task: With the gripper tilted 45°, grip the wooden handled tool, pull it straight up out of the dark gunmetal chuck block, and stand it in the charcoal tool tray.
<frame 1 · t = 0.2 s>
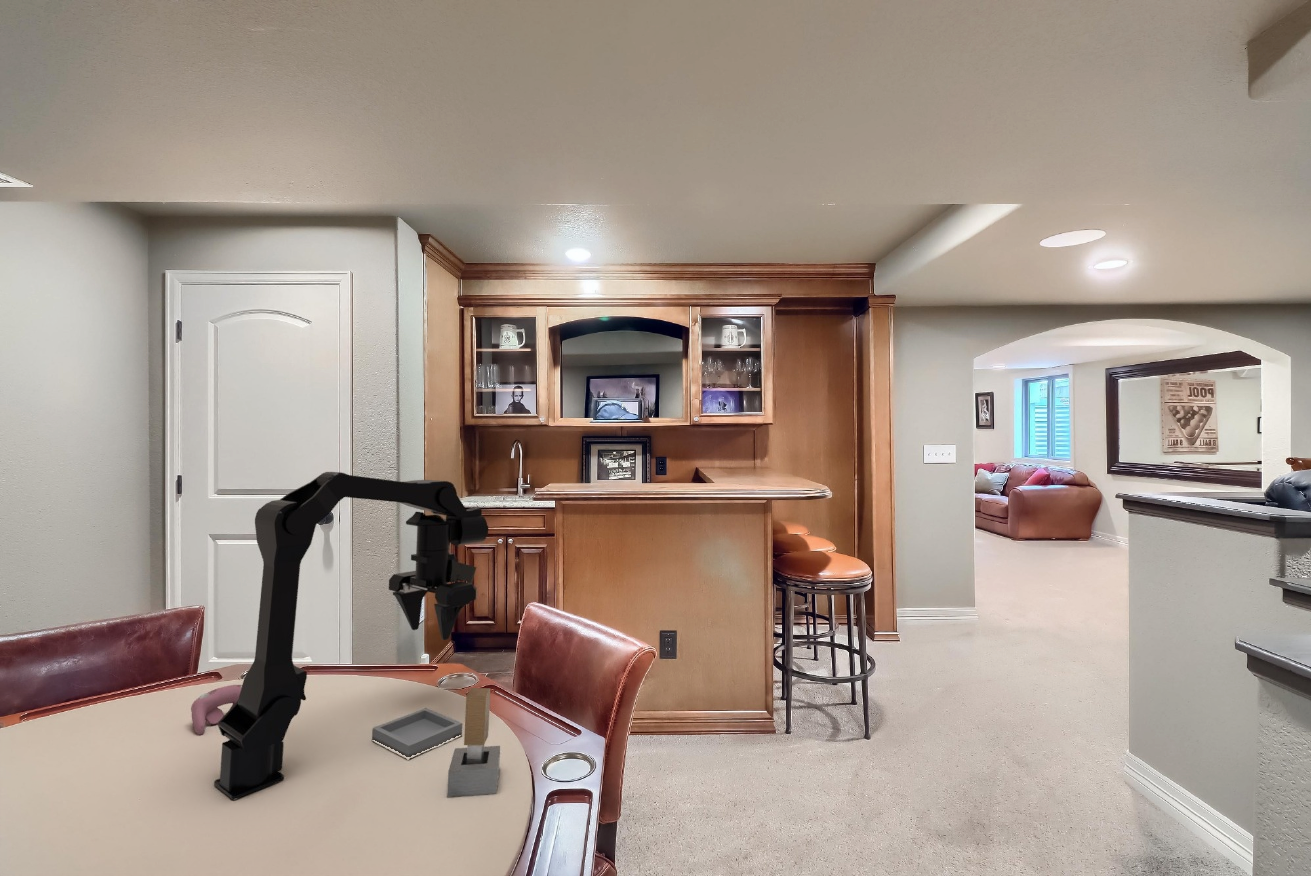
hand: (430, 634, 107), 15 cm above the table, tool pointing down, fingers open, 9 cm apart
wooden handled tool: (476, 737, 85), in the chuck block
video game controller: (226, 723, 101), on the table
chuck block: (474, 782, 85), on the table
tool tray: (417, 738, 97), on the table
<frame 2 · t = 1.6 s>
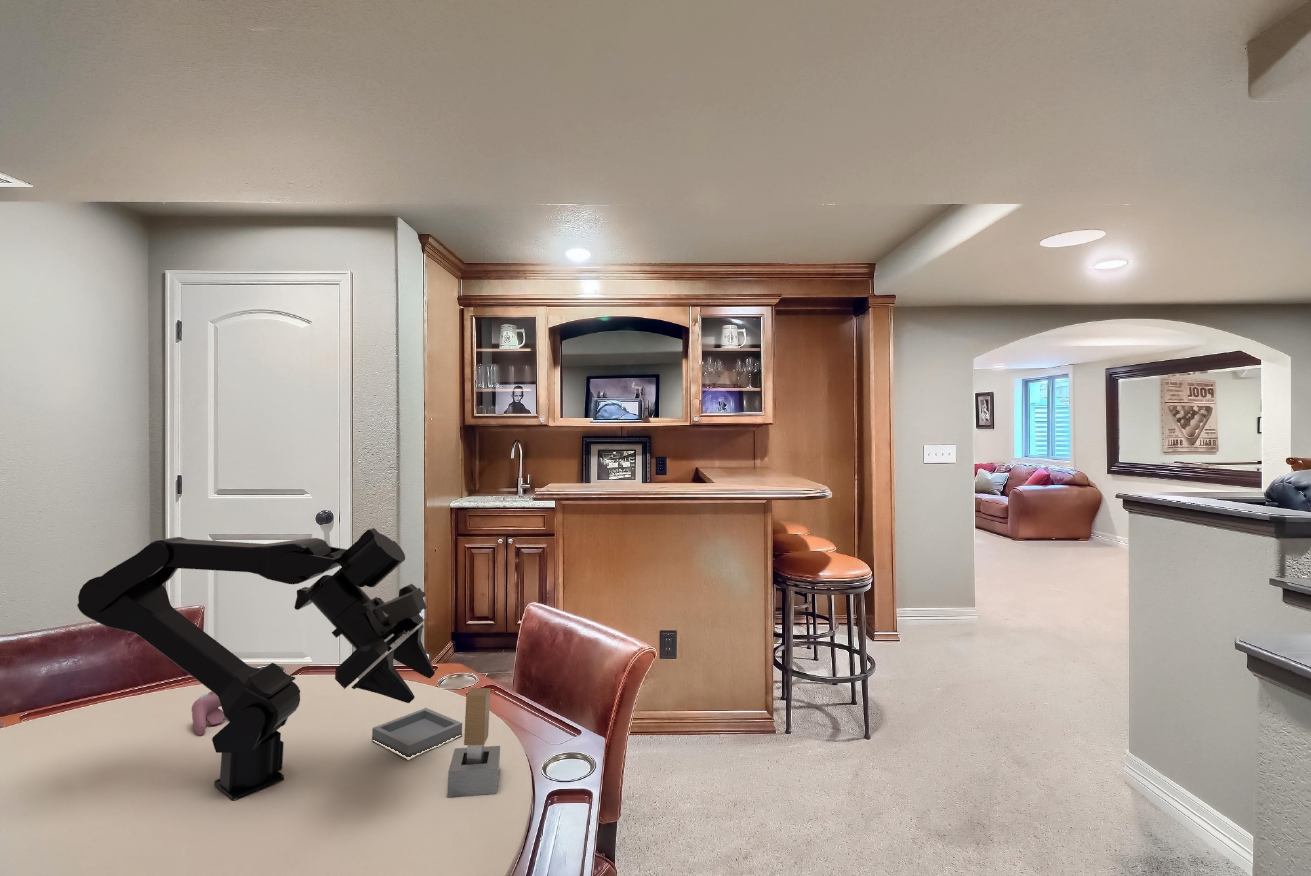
hand: (422, 687, 85), 13 cm above the table, tool tilted 45°, fingers open, 9 cm apart
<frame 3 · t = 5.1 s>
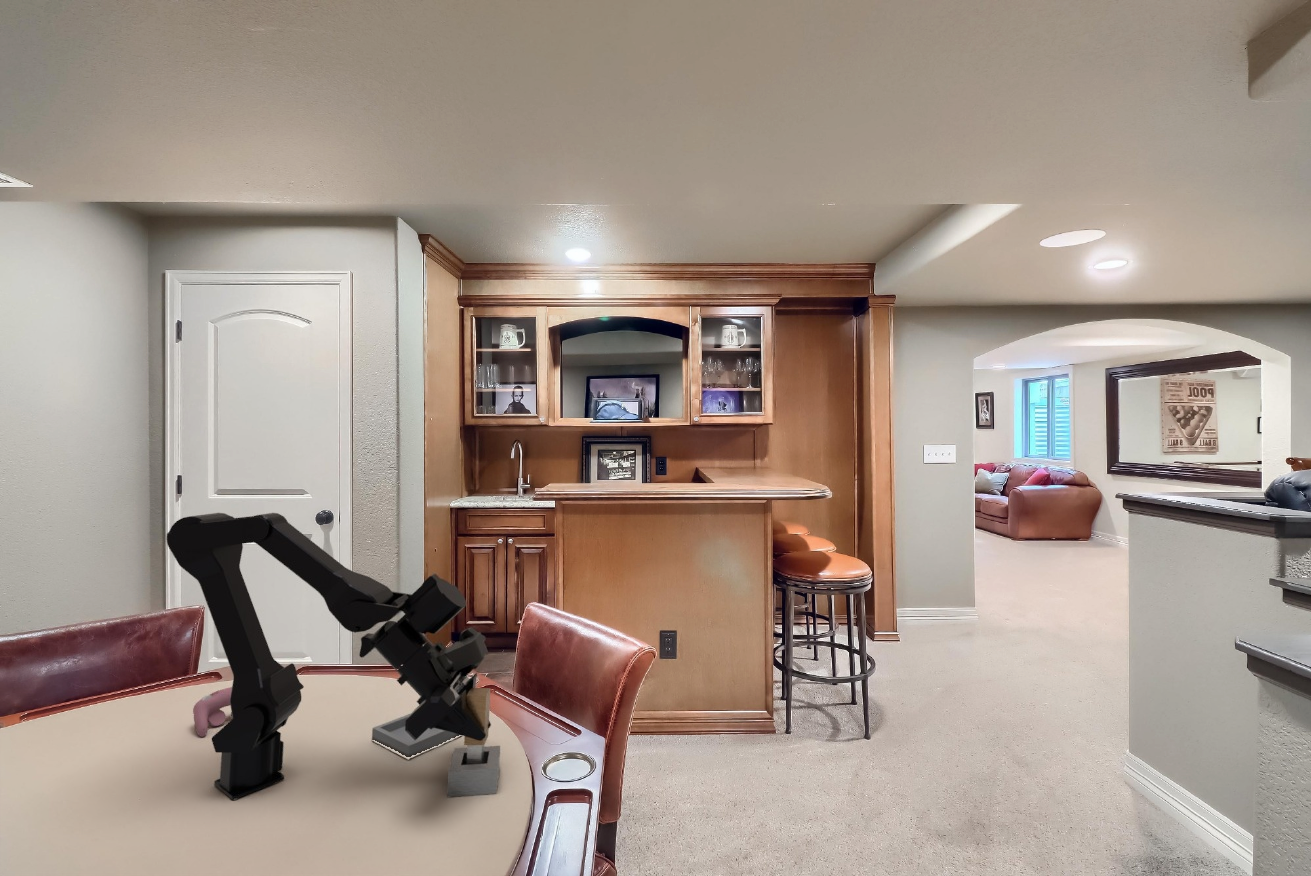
hand: (486, 733, 85), 7 cm above the table, tool tilted 45°, fingers closed on wooden handled tool, 3 cm apart
wooden handled tool: (476, 736, 85), in the chuck block, touching gripper
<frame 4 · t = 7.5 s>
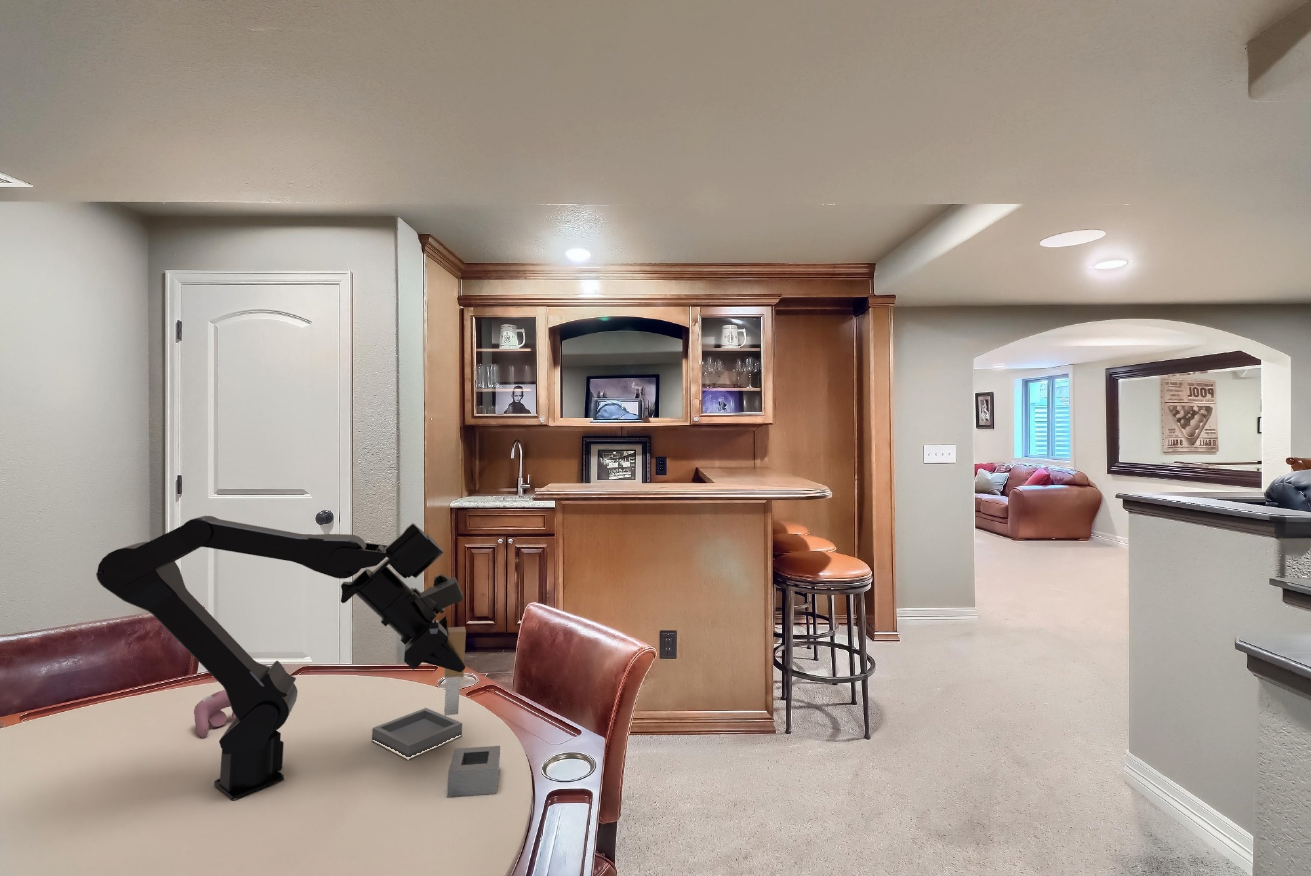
hand: (462, 666, 94), 14 cm above the table, tool tilted 45°, fingers closed on wooden handled tool, 3 cm apart
wooden handled tool: (453, 670, 93), point 13 cm above the table, touching gripper
when the fingers open (9 cm above the table, at t = 9.8 s): wooden handled tool drops 1 cm, resting on tool tray.
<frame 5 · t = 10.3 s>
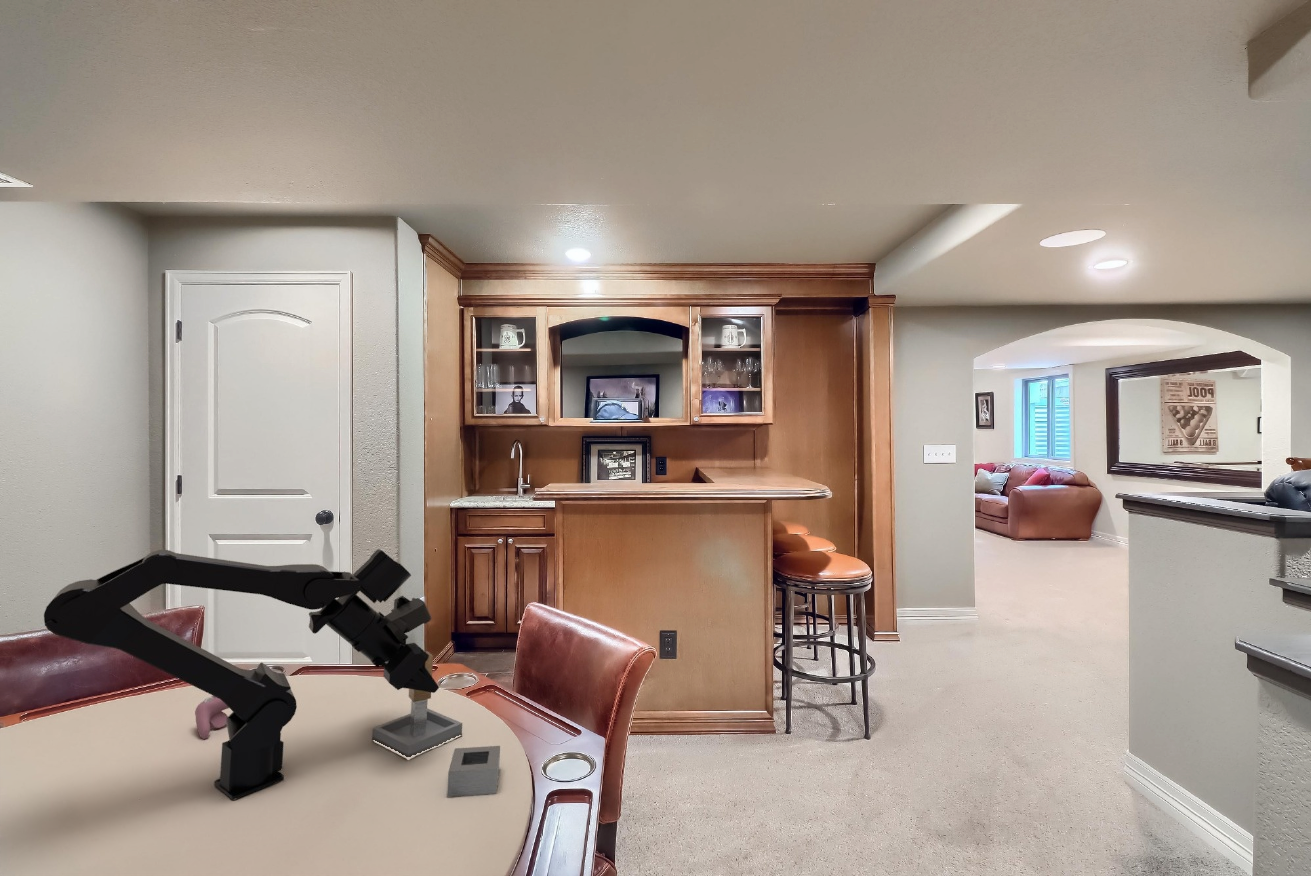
hand: (428, 681, 99), 9 cm above the table, tool tilted 45°, fingers open, 8 cm apart
wooden handled tool: (419, 694, 98), in the tool tray, point 7 cm above the table
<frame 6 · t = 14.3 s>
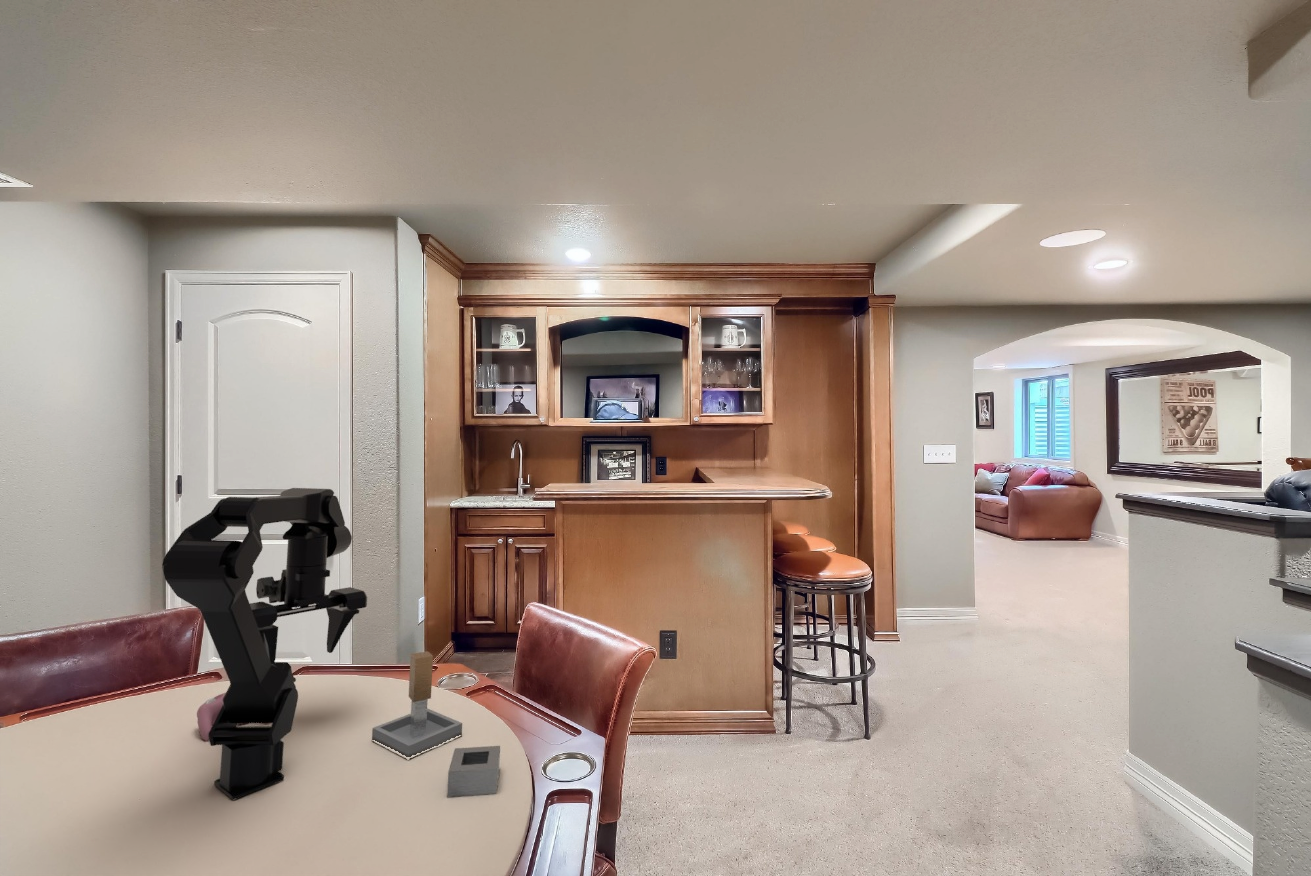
hand: (301, 659, 96), 13 cm above the table, tool pointing down, fingers open, 9 cm apart
at the end: wooden handled tool inside the target area on the tool tray (0.0 cm from its centre), point 7.3 cm above the tool tray's base; the gripper is holding nothing; wooden handled tool moved 18.3 cm from its start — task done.
